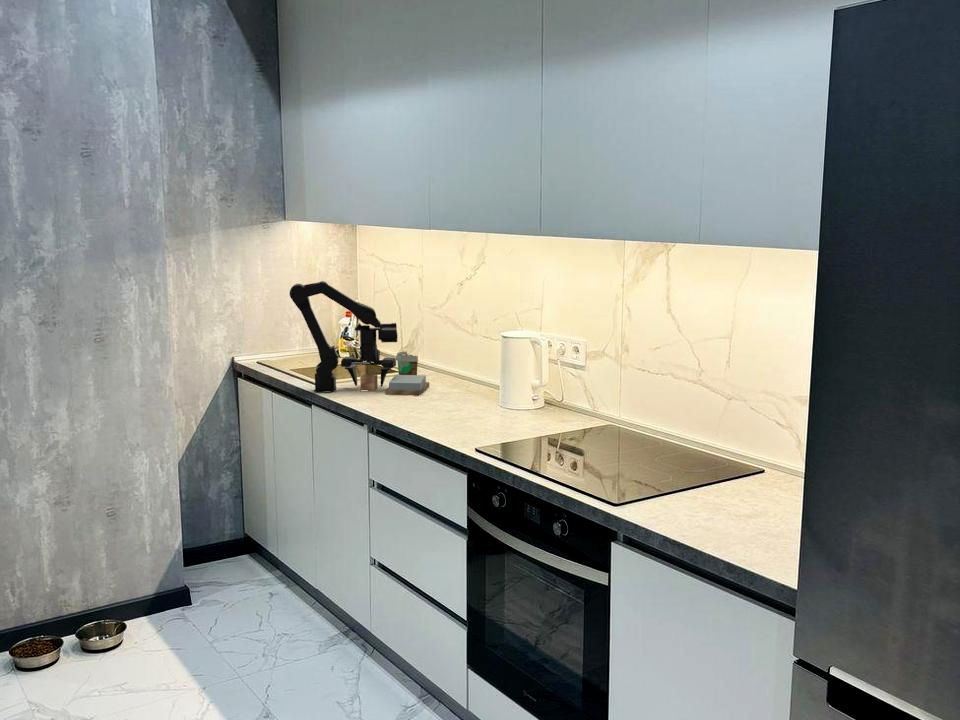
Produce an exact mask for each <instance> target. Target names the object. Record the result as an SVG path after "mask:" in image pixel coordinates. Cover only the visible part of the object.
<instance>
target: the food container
mask: <svg viewBox="0 0 960 720" xmlns="http://www.w3.org/2000/svg"><path fill="white" fill-rule="evenodd" d="M395 359H396V362H397V367H398V368H397V369H398V370H397V372H398V375H418V363H419V356H418V355H413V354H408V351H400V352H397V353H396V357H395Z"/></svg>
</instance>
